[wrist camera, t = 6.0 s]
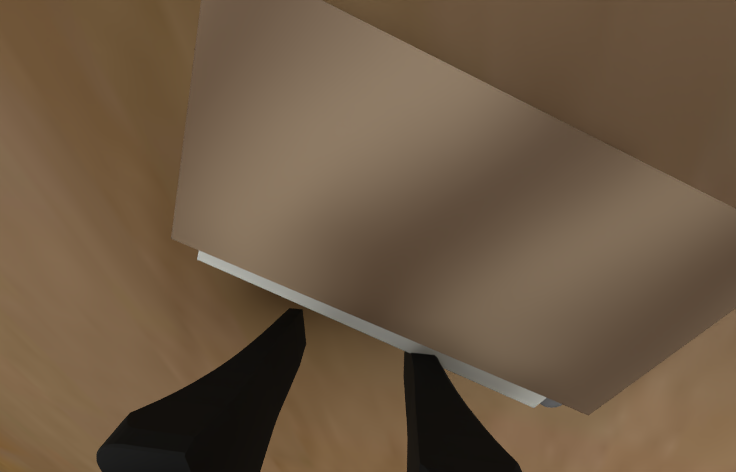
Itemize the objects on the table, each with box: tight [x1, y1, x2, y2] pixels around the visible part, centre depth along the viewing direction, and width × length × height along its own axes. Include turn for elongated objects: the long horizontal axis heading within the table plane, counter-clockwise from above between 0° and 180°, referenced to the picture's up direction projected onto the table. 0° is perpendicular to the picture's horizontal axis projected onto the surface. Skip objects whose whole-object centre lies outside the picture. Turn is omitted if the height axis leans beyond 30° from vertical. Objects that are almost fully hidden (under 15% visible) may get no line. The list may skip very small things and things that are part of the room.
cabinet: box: [171, 0, 736, 415], centre depth 11 cm, size 15×7×6 cm, turn 67°
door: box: [197, 251, 562, 408], centre depth 13 cm, size 14×2×5 cm, turn 65°
